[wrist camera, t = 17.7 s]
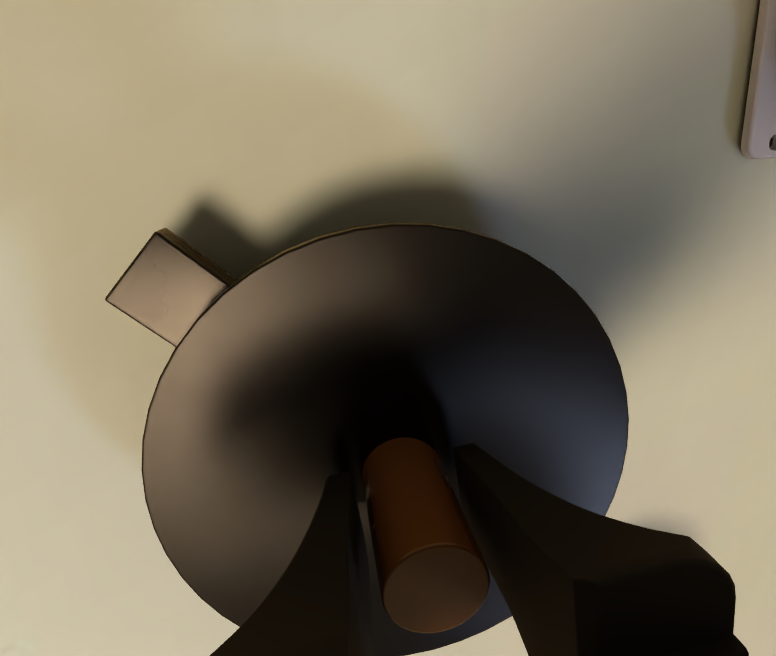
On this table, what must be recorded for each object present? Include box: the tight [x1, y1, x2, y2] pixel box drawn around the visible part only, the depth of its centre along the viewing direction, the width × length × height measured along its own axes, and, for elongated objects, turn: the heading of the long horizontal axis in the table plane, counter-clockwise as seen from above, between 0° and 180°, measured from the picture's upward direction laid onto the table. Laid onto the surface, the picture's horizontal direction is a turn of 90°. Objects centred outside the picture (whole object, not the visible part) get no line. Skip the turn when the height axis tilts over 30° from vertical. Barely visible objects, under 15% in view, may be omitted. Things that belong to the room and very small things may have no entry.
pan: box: [105, 228, 237, 347], centre depth 17 cm, size 14×19×3 cm
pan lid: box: [142, 223, 629, 656], centre depth 13 cm, size 15×15×6 cm
